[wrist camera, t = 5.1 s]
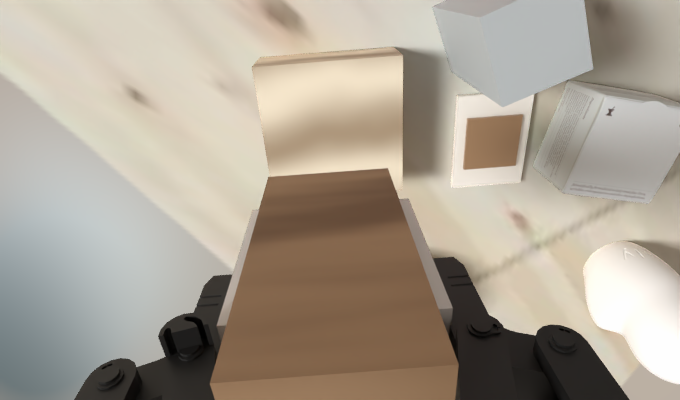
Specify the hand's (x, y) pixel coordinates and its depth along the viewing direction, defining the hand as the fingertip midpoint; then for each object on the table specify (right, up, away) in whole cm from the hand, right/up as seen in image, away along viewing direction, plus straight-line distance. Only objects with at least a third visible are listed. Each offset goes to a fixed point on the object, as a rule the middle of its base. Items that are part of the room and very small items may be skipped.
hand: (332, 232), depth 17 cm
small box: (+21, +7, +17) cm, 28 cm away
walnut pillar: (0, 0, +1) cm, 1 cm away
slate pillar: (+10, +14, +12) cm, 22 cm away
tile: (+13, +6, +17) cm, 22 cm away
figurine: (+28, -6, +24) cm, 37 cm away
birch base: (0, +8, +15) cm, 17 cm away
